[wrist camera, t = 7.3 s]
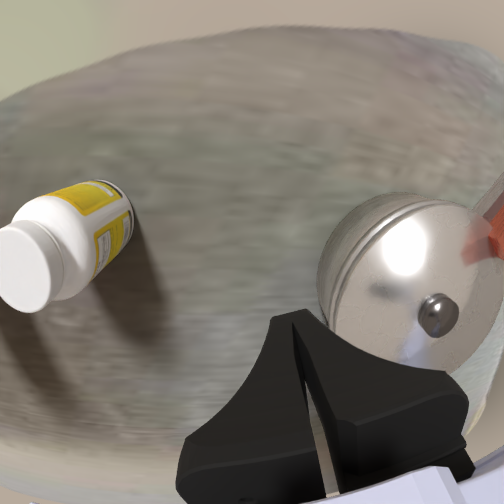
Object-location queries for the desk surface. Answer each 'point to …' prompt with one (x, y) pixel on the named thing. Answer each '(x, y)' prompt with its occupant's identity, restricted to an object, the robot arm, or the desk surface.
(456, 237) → the lid
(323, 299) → the pot
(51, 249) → the supplement bottle
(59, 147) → the desk surface
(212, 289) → the desk surface
